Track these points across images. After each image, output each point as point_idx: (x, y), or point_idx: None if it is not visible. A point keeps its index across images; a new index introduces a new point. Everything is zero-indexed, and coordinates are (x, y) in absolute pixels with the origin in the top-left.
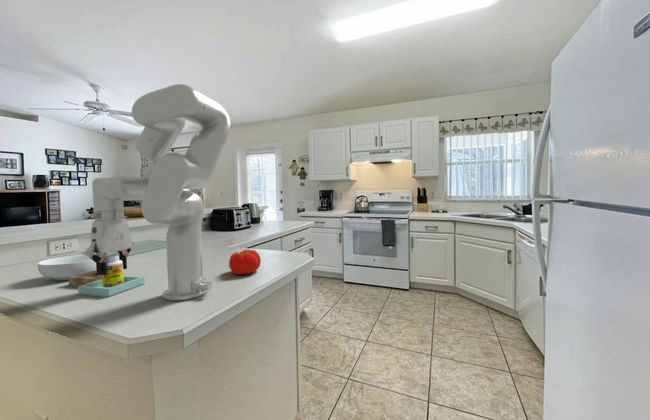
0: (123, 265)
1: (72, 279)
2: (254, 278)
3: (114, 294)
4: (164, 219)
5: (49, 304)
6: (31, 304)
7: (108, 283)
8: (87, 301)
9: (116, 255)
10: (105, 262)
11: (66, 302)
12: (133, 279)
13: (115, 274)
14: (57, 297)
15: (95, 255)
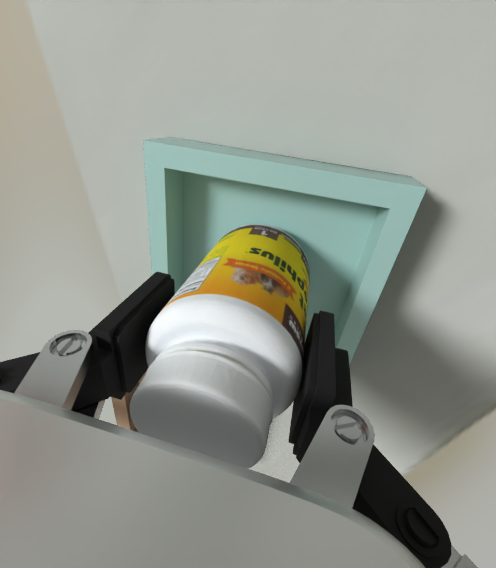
0: (159, 300)
1: None
2: None
3: (377, 171)
4: None
5: (462, 386)
6: (439, 437)
7: (308, 273)
8: (467, 253)
9: (172, 396)
10: (325, 388)
11: (452, 341)
12: (172, 214)
13: (277, 268)
14: (366, 407)
15: (426, 556)
